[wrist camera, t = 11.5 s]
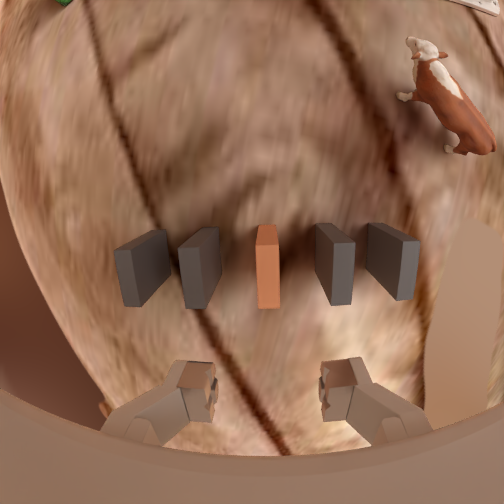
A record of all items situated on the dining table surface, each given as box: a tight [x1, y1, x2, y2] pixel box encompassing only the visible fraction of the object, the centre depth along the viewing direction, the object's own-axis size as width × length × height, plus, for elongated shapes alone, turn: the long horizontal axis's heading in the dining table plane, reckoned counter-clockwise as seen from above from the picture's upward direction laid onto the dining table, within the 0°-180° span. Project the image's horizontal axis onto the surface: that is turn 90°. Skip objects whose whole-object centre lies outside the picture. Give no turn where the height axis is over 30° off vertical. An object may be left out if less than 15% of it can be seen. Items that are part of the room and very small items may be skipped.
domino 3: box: [255, 225, 280, 309], centre depth 24 cm, size 2×5×8 cm, turn 3°
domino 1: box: [114, 230, 171, 307], centre depth 25 cm, size 2×5×8 cm, turn 2°
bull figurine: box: [396, 37, 497, 155], centre depth 19 cm, size 4×13×8 cm, turn 47°
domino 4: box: [315, 223, 355, 306], centre depth 23 cm, size 2×5×8 cm, turn 3°
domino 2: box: [178, 227, 222, 309], centre depth 24 cm, size 2×5×8 cm, turn 3°
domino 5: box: [366, 223, 420, 301], centre depth 23 cm, size 2×5×8 cm, turn 3°
